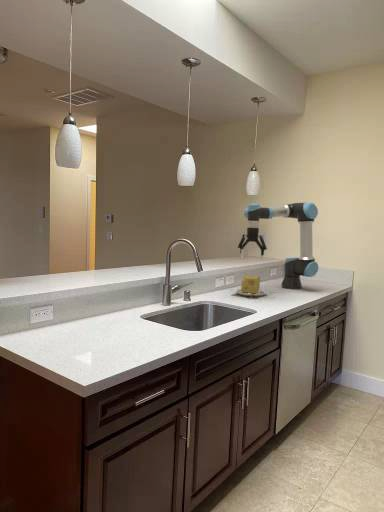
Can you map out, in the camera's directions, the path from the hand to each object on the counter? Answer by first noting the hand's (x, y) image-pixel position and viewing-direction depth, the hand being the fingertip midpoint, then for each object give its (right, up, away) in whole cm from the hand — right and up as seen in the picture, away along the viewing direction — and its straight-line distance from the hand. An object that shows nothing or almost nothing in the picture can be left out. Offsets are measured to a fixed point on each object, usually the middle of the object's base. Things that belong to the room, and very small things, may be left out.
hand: (251, 259), depth 258 cm
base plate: (-1, -24, +6) cm, 25 cm away
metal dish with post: (0, -24, +6) cm, 25 cm away
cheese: (0, -21, +2) cm, 21 cm away
